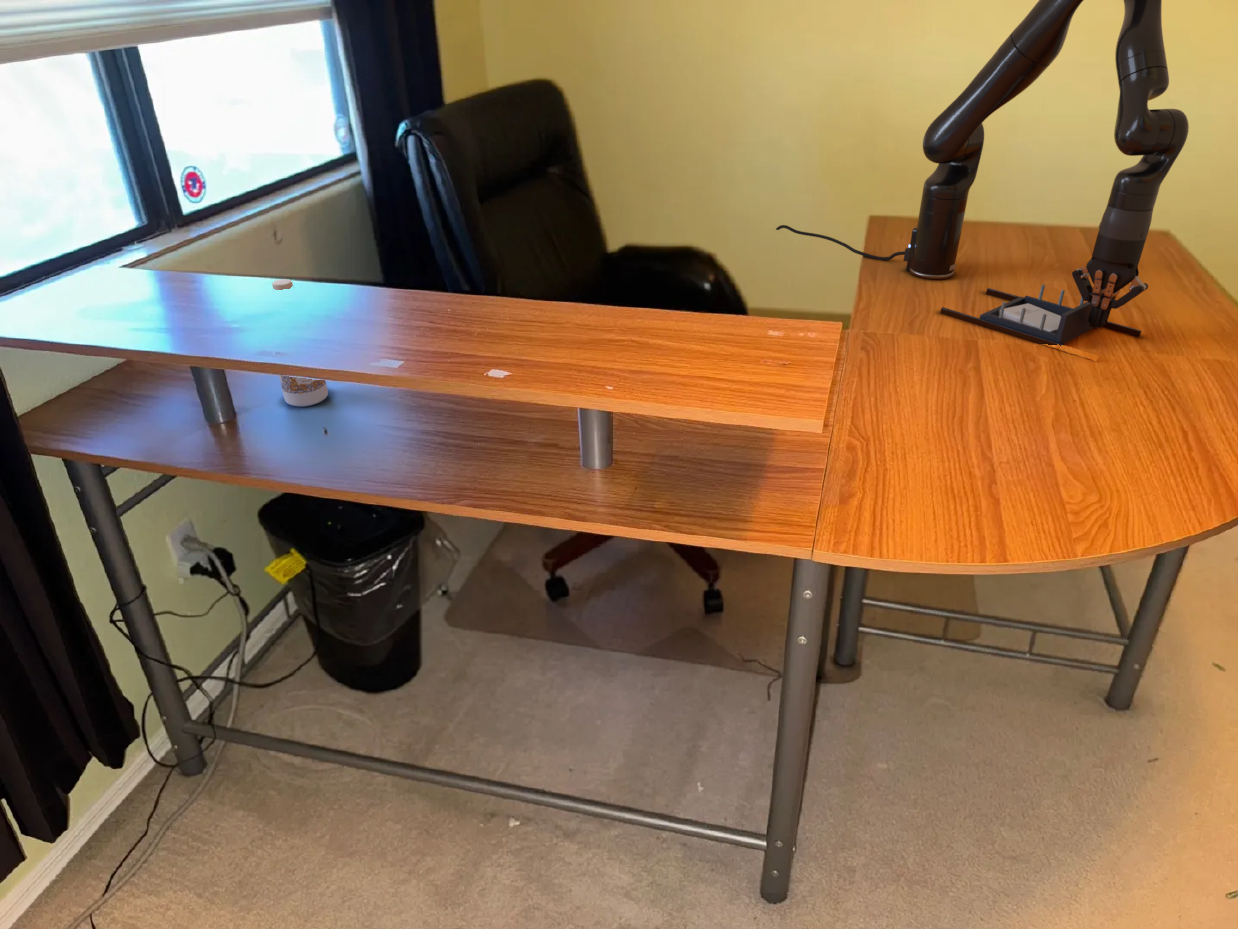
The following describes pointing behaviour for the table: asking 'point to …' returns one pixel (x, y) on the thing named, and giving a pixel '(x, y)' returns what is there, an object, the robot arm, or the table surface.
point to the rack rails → (1019, 333)
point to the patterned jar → (300, 388)
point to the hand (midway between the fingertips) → (1095, 326)
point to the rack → (1070, 322)
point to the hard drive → (1033, 317)
